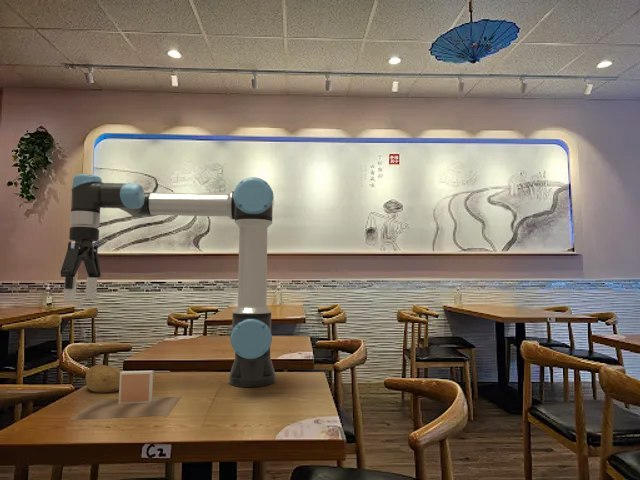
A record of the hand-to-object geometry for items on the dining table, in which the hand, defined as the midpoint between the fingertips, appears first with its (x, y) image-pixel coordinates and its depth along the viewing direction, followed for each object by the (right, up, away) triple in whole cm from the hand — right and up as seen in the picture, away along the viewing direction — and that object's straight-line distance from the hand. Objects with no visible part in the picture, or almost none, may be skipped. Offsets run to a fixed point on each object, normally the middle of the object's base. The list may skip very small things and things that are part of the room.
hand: (80, 300), depth 117 cm
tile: (+20, -26, -10) cm, 34 cm away
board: (+21, -27, -14) cm, 36 cm away
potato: (+5, -29, +3) cm, 29 cm away
